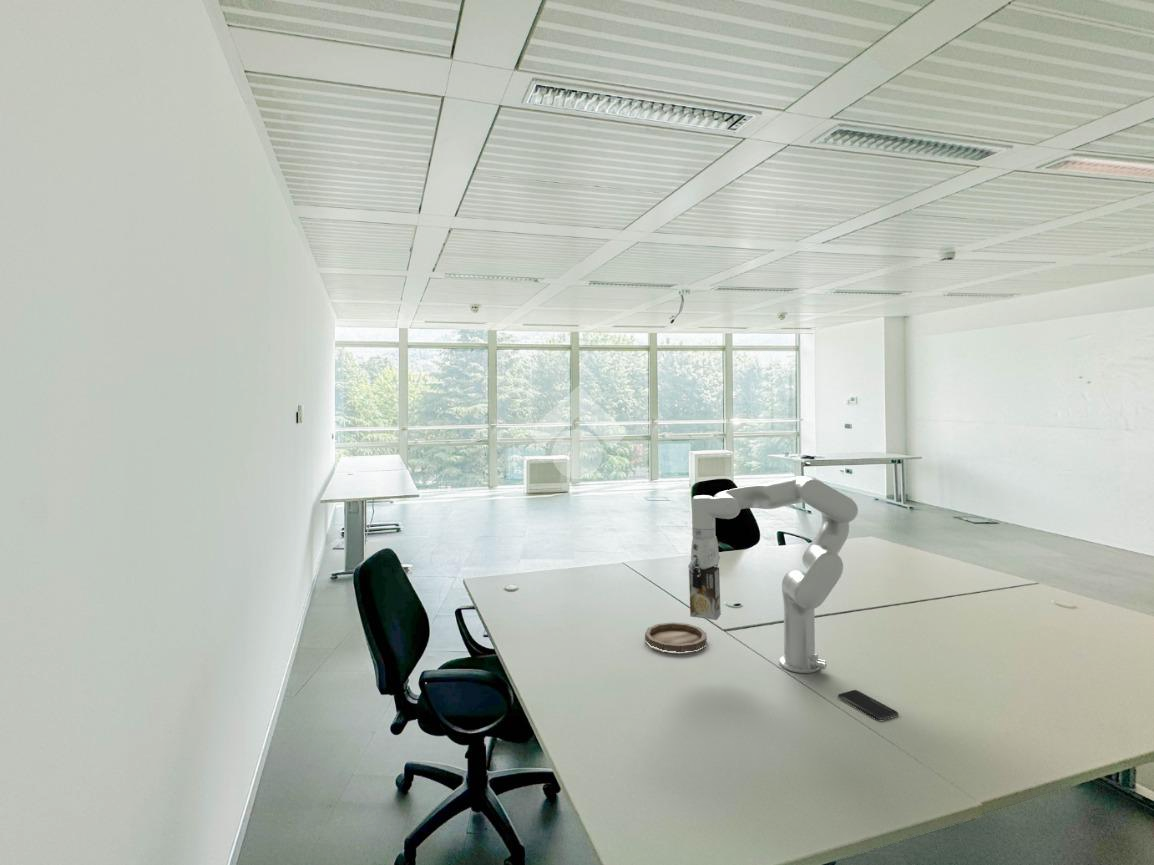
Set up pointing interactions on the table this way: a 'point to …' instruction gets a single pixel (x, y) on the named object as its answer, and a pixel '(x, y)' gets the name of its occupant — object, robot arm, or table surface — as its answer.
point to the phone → (868, 705)
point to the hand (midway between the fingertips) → (704, 584)
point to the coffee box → (706, 595)
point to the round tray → (676, 637)
